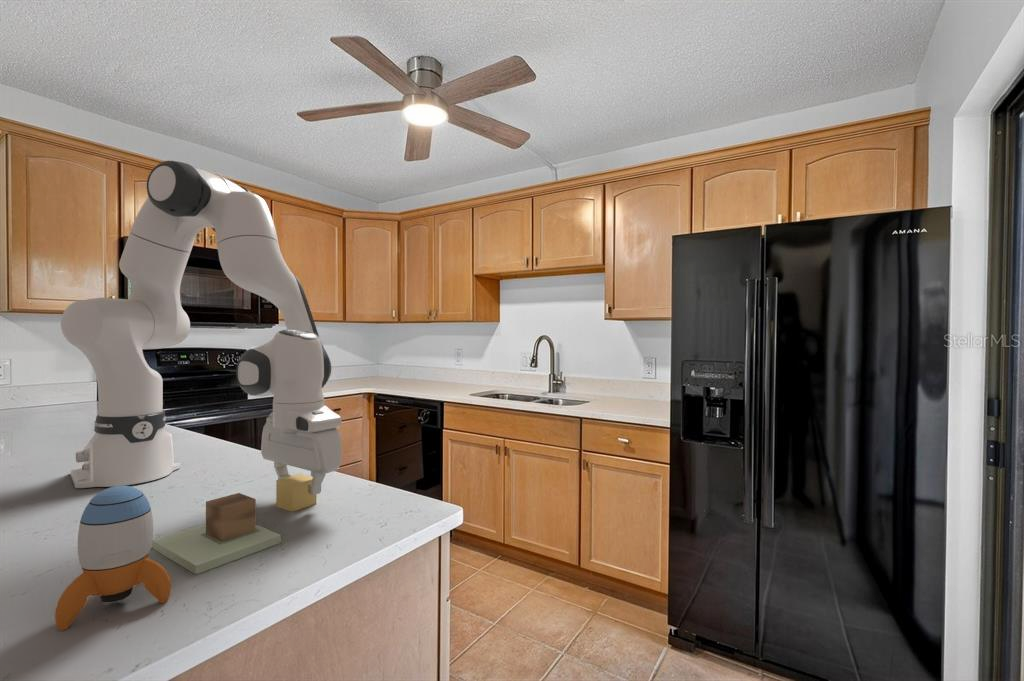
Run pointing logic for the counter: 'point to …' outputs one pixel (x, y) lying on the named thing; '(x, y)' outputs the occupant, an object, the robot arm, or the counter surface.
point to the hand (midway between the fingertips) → (299, 489)
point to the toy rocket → (113, 553)
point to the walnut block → (230, 516)
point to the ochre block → (294, 492)
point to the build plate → (211, 547)
